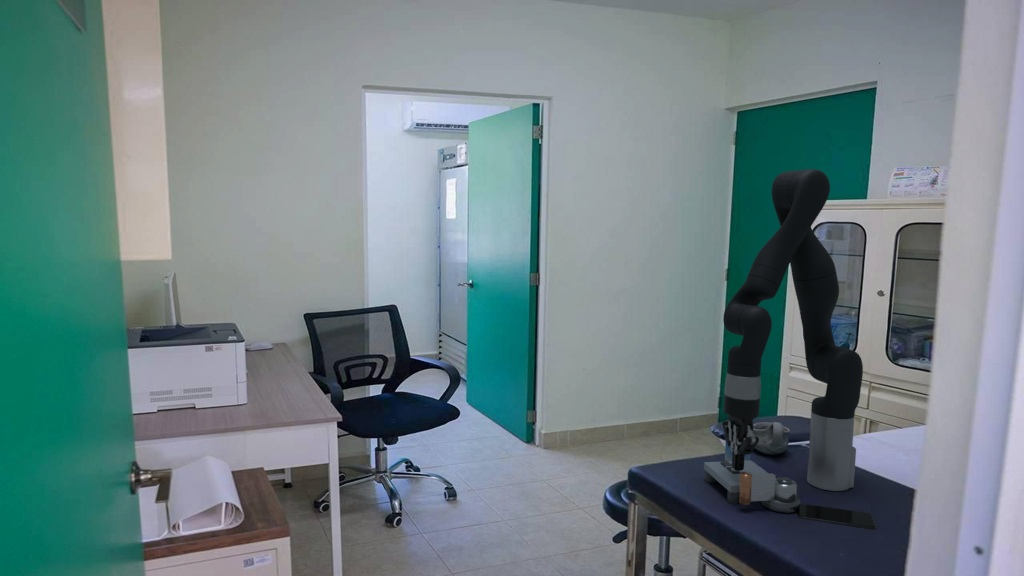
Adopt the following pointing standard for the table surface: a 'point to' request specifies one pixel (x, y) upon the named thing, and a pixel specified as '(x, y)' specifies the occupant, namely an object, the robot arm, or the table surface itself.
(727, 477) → the slide switch panel
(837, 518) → the smartphone
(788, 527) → the table surface
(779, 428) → the mug
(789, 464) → the table surface
